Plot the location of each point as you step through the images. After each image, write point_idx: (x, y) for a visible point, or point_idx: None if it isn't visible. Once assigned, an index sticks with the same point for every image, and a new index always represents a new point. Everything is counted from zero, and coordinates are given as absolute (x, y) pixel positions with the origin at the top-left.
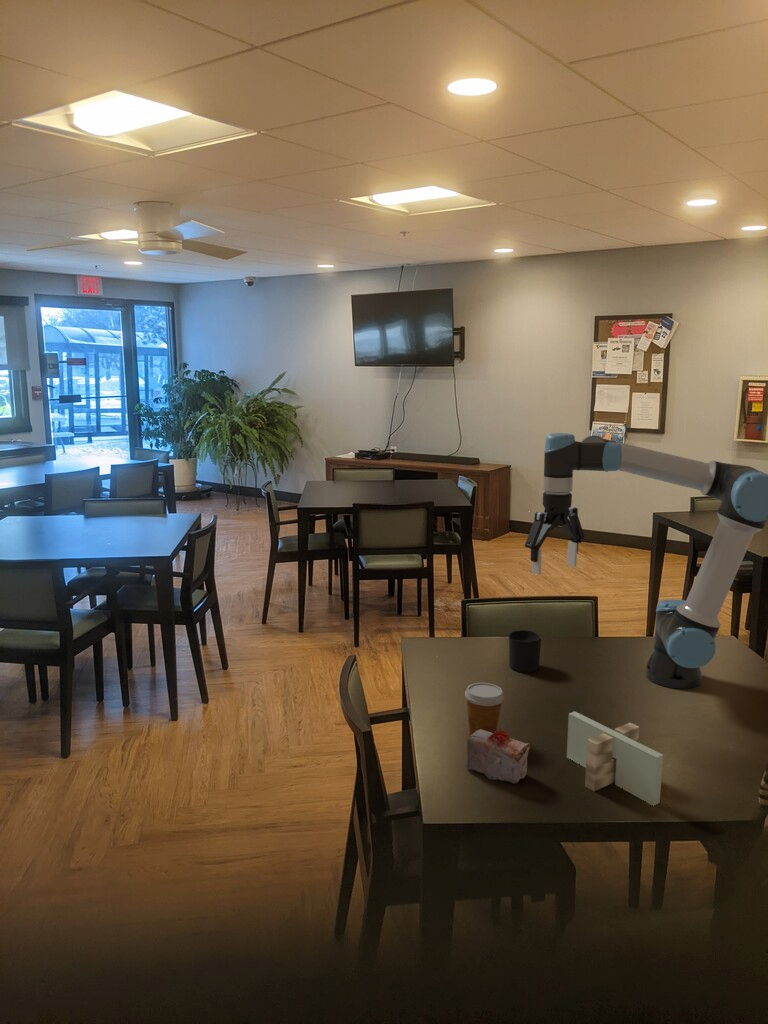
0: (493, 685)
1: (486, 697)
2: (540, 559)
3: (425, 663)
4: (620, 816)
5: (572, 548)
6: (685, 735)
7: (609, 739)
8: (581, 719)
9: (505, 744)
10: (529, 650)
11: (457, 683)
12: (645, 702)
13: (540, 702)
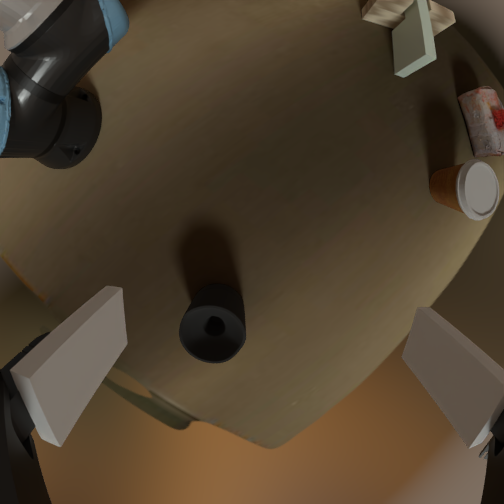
0: (466, 192)
1: (493, 171)
2: (473, 349)
3: (325, 394)
4: None
5: (66, 375)
6: (227, 6)
7: (434, 2)
8: (432, 39)
9: (499, 107)
10: (230, 302)
11: (349, 325)
12: (172, 88)
13: (310, 195)
